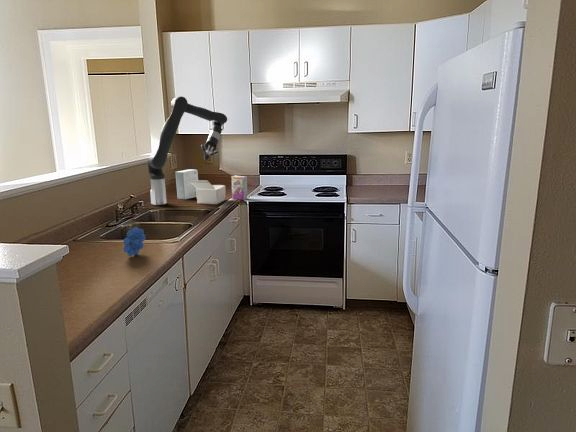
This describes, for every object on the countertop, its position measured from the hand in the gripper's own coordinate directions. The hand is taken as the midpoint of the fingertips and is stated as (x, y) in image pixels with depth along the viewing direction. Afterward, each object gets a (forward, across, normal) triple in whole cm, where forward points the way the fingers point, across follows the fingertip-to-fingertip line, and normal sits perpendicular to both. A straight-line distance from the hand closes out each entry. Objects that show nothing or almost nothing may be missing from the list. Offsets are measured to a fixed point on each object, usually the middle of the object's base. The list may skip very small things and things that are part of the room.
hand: (205, 159), depth 288 cm
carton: (+23, +16, +9) cm, 29 cm away
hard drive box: (+19, +4, +31) cm, 37 cm away
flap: (+20, +7, -1) cm, 21 cm away
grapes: (+92, -27, -76) cm, 123 cm away
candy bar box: (+13, +34, +8) cm, 37 cm away
